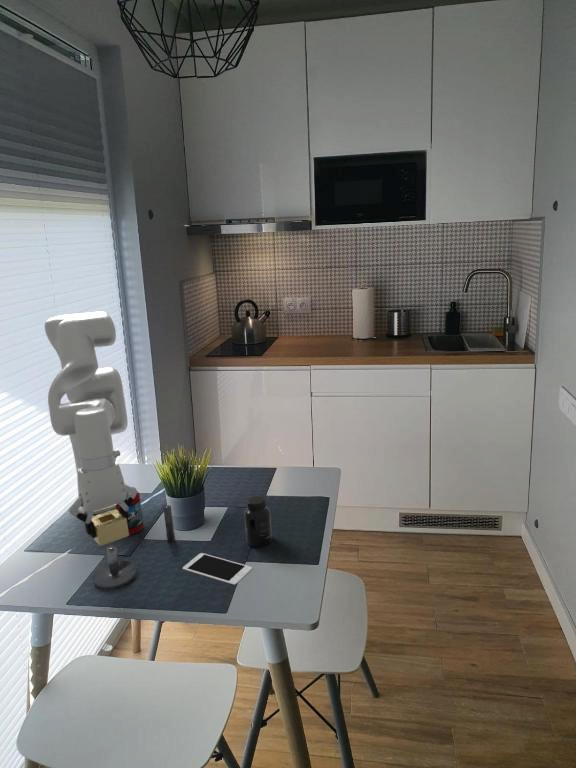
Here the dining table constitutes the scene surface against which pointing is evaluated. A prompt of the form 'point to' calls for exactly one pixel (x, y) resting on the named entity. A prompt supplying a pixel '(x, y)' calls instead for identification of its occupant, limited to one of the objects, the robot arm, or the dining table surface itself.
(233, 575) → the cell phone
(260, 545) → the supplement bottle
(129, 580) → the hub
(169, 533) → the stand rod
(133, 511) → the beverage can
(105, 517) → the collar
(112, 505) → the robot arm
